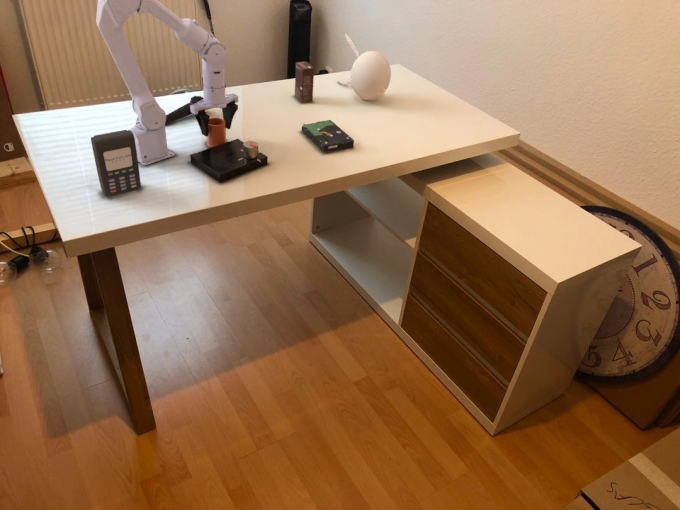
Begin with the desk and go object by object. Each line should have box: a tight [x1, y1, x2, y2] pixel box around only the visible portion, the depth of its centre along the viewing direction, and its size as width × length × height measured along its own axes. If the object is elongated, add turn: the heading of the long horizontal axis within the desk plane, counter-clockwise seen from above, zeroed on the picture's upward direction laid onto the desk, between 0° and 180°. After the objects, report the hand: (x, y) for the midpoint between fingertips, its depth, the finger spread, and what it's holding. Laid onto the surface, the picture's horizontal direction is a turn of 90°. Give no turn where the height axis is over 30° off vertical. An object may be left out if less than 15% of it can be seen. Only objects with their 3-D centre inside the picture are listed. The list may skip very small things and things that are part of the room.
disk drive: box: [301, 119, 355, 153], centre depth 166 cm, size 10×3×15 cm
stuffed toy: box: [339, 33, 392, 101], centre depth 192 cm, size 19×14×25 cm
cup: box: [206, 117, 227, 148], centre depth 156 cm, size 5×5×7 cm
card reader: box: [90, 129, 142, 197], centre depth 130 cm, size 9×4×15 cm, turn 126°
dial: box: [243, 140, 259, 159], centre depth 149 cm, size 4×4×4 cm
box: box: [294, 61, 315, 104], centre depth 185 cm, size 6×4×12 cm
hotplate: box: [189, 138, 269, 184], centre depth 149 cm, size 17×14×3 cm
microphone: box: [165, 95, 204, 126], centre depth 167 cm, size 6×6×20 cm
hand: (216, 131), depth 156 cm, fingers open, 7 cm apart
